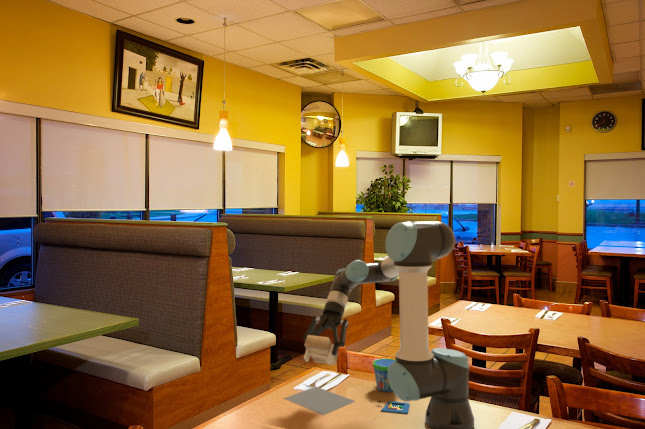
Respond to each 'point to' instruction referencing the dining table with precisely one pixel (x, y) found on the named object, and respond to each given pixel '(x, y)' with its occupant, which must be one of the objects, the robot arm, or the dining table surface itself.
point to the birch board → (319, 348)
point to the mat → (319, 400)
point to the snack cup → (382, 374)
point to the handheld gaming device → (401, 405)
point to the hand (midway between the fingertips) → (317, 361)
